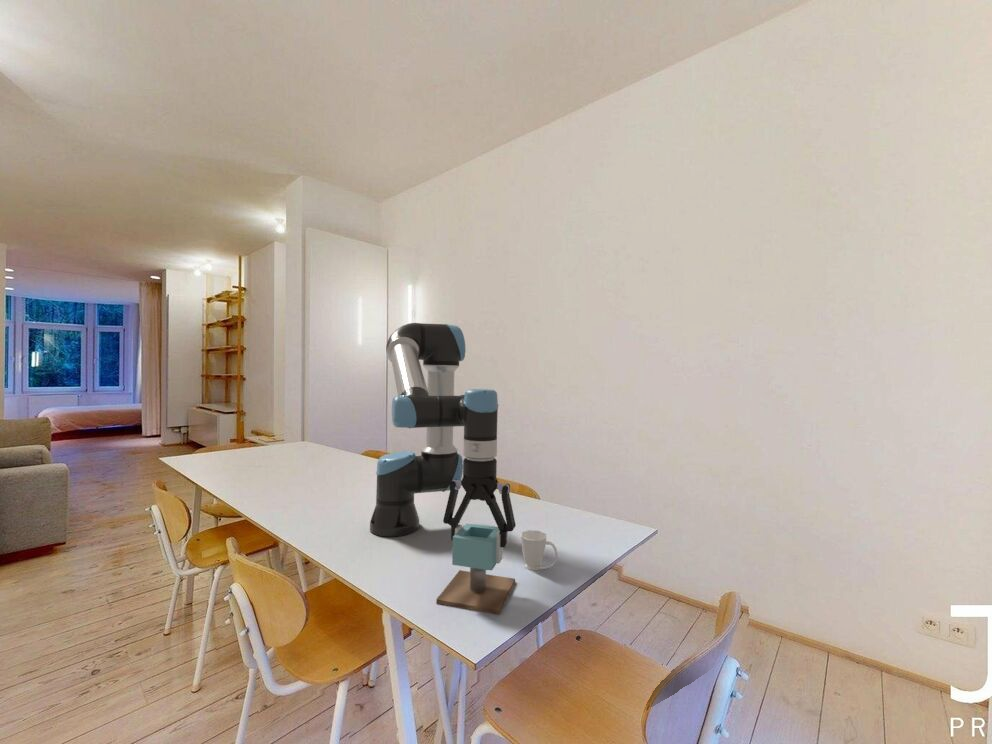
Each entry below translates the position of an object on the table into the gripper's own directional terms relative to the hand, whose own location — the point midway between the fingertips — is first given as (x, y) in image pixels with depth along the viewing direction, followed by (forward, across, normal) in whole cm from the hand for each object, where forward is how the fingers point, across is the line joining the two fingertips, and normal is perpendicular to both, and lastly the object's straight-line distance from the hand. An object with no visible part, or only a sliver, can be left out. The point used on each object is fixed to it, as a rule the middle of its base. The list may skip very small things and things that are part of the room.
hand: (478, 557), depth 95 cm
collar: (0, 0, 0) cm, 0 cm away
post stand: (+8, 0, 0) cm, 8 cm away
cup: (+8, +11, +16) cm, 21 cm away
